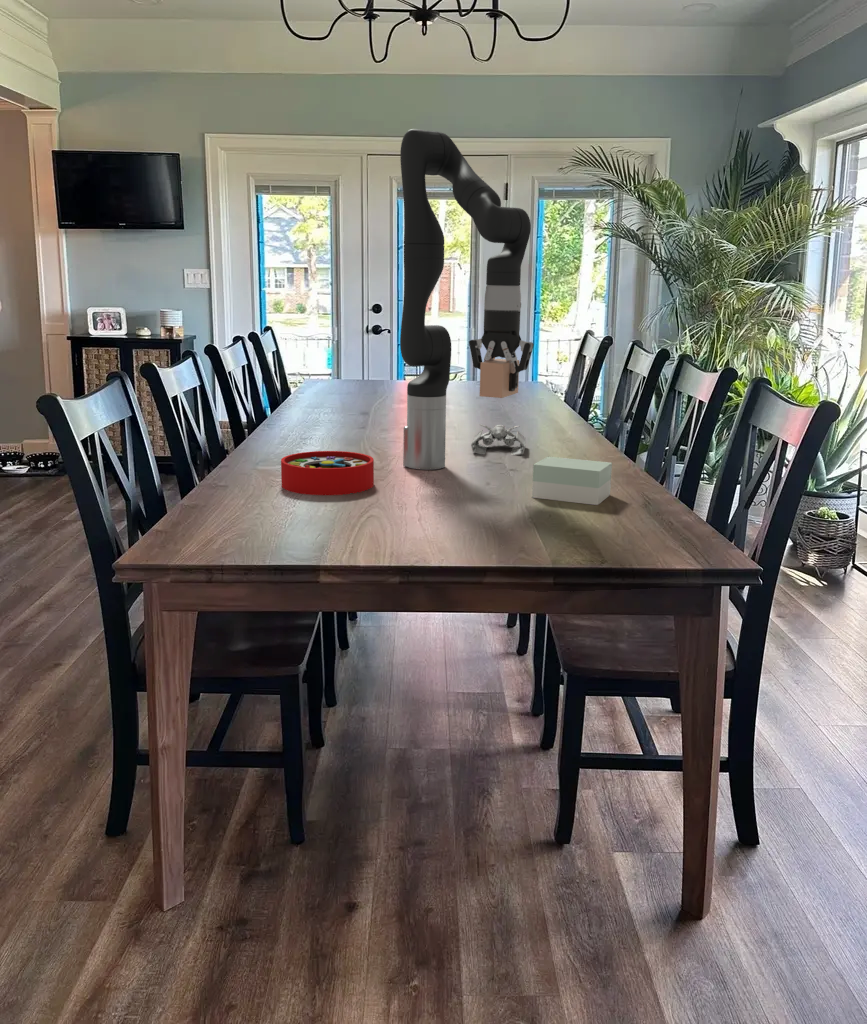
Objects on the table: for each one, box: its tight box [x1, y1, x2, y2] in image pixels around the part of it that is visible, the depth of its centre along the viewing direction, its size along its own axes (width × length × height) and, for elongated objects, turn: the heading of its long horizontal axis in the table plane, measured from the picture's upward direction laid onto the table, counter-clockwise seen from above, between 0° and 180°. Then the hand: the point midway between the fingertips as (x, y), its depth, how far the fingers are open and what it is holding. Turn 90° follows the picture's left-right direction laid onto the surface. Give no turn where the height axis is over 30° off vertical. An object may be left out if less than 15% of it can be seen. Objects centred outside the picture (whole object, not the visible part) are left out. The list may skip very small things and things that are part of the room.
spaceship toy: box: [470, 424, 527, 456], centre depth 246 cm, size 14×20×6 cm
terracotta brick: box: [479, 358, 520, 399], centre depth 197 cm, size 5×10×7 cm, turn 156°
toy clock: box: [280, 450, 375, 496], centre depth 202 cm, size 20×6×20 cm
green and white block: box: [531, 456, 613, 506], centre depth 195 cm, size 14×10×7 cm
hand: (499, 389), depth 197 cm, fingers closed on terracotta brick, 5 cm apart
